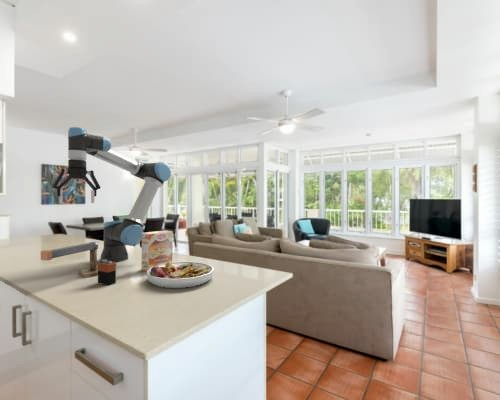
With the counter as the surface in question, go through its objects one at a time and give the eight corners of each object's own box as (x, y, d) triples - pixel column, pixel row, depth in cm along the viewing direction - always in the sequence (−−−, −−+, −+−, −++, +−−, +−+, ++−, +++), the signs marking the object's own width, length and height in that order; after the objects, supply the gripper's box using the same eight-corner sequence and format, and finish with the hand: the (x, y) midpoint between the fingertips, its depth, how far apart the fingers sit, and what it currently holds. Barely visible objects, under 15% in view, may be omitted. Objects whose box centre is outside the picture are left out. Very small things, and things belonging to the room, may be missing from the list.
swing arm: (99, 248, 138) (100, 241, 137) (47, 260, 112) (47, 251, 112) (93, 248, 139) (93, 241, 139) (40, 259, 113) (40, 251, 113)
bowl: (191, 268, 150) (191, 253, 150) (226, 280, 129) (226, 264, 129) (135, 279, 129) (136, 262, 129) (167, 296, 108) (167, 276, 108)
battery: (106, 280, 126) (106, 258, 125) (116, 282, 123) (116, 260, 122) (97, 283, 122) (97, 260, 122) (107, 285, 119) (107, 262, 119)
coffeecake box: (148, 272, 140) (148, 233, 140) (140, 269, 144) (141, 232, 144) (173, 266, 152) (173, 231, 152) (165, 264, 156) (165, 230, 156)
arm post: (101, 269, 143) (101, 246, 143) (107, 273, 136) (107, 249, 136) (79, 273, 136) (79, 249, 136) (84, 277, 129) (84, 252, 129)
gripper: (102, 162, 147) (102, 202, 147) (44, 157, 129) (44, 203, 129) (107, 161, 142) (107, 203, 142) (47, 156, 124) (47, 203, 124)
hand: (77, 203), depth 136 cm, fingers open, 13 cm apart
